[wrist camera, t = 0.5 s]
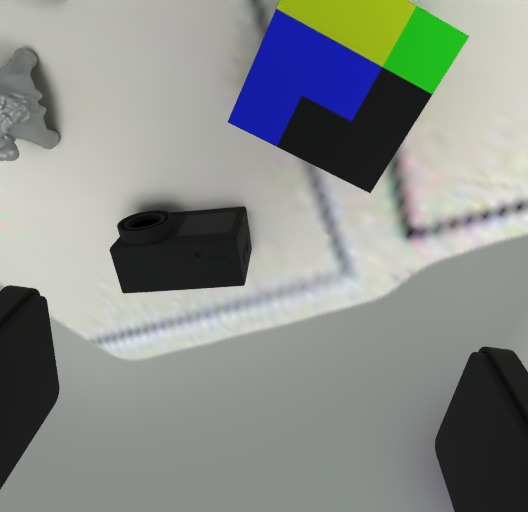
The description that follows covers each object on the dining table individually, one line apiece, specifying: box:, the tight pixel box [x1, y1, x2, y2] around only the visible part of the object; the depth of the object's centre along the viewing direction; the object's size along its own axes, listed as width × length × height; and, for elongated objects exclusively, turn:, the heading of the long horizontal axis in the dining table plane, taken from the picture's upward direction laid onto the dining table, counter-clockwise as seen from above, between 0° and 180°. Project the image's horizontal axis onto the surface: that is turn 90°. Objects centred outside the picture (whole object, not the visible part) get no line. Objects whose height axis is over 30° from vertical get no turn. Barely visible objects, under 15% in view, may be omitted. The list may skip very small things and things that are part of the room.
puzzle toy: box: [228, 0, 469, 193], centre depth 30 cm, size 10×10×10 cm
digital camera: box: [110, 207, 252, 293], centre depth 38 cm, size 10×5×7 cm, turn 97°
